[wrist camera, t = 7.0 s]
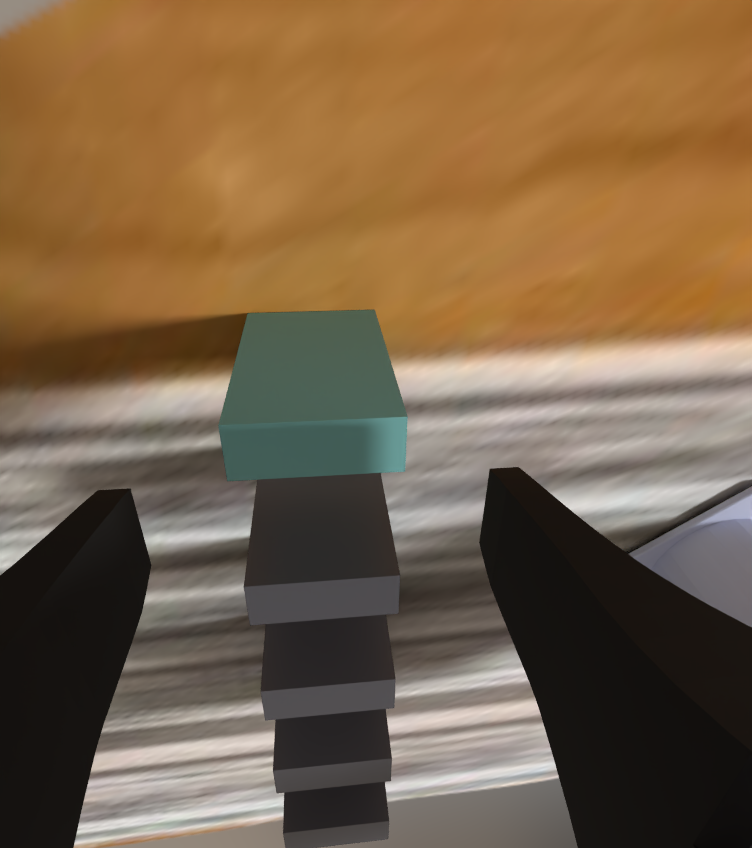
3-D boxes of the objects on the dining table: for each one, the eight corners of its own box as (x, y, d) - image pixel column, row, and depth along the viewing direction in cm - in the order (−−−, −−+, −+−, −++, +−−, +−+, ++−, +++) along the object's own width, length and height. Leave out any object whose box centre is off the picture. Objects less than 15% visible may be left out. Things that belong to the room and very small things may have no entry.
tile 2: (371, 623, 28) (390, 781, 22) (283, 630, 28) (276, 793, 21) (372, 601, 27) (391, 758, 21) (281, 608, 27) (272, 770, 20)
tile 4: (373, 468, 23) (398, 613, 17) (266, 474, 23) (250, 625, 16) (373, 435, 22) (400, 575, 16) (262, 441, 22) (243, 587, 16)
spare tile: (374, 351, 20) (404, 471, 14) (252, 355, 20) (227, 481, 14) (374, 309, 20) (407, 416, 13) (247, 313, 19) (218, 425, 13)
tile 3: (372, 553, 26) (394, 707, 19) (275, 560, 25) (265, 720, 19) (372, 527, 25) (395, 679, 18) (272, 533, 24) (260, 691, 18)
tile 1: (371, 682, 31) (388, 839, 24) (290, 689, 30) (285, 851, 24) (371, 663, 30) (389, 821, 23) (288, 671, 29) (283, 833, 23)
